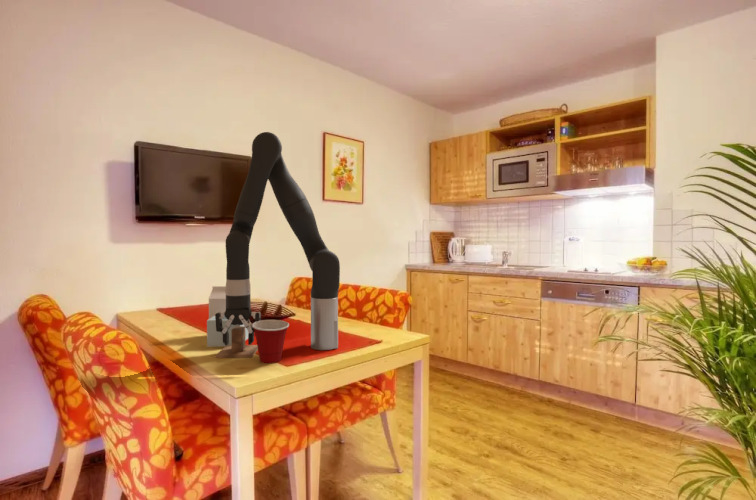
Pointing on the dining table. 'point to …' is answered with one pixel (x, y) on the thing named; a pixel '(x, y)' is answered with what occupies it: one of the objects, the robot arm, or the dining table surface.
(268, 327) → the plastic cup
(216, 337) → the grey storage bin
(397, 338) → the dining table surface
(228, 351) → the wooden t-shaped stand
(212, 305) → the milk carton
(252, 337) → the robot arm
